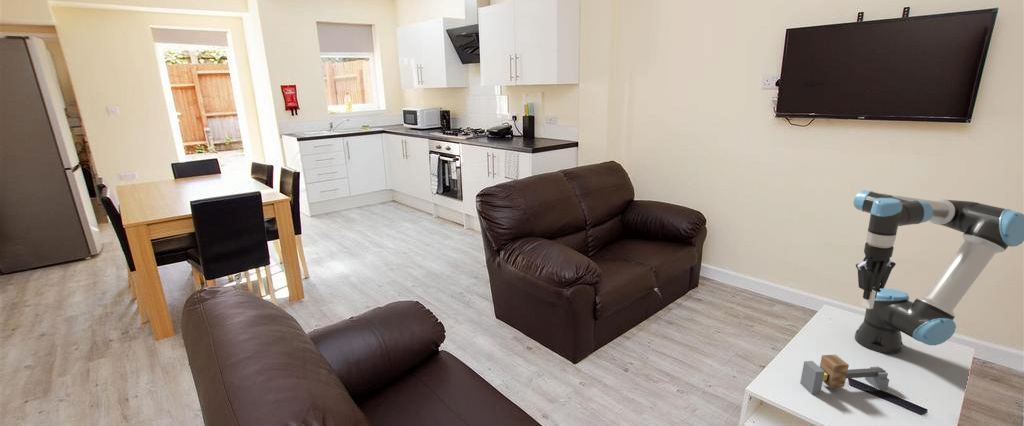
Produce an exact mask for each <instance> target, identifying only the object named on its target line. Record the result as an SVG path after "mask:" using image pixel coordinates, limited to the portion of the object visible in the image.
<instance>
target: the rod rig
mask: <svg viewBox="0 0 1024 426" xmlns="http://www.w3.org/2000/svg"><path fill="white" fill-rule="evenodd" d="M801 371H802V372H801V376H800V377H801V378H800V381H799V382H800V383H799V384H800V385H801V386H802V387H803V388H805V390H806V391H808V392H809V394H811V395H819V394H820V395H821V392H822V387H823V383H824V382H823V381H825V380H829V376H830V375H829V374H828V373H827V372H826V371H824V370H823V369H821V368H820V365H818V364H817V363H816V362H815V361H814V360H806V361H805V360H804V361H803V366H802V370H801ZM888 375H889V373H888V372H887V371H886V370H885V369H884V368H882V367H880V366H870V367H869V368H856V369H853V368H852V369H848V371H847V376H846V380H847V379H858V378H864V380H865V381H867V382H868V383H869V384H870V385H871V386H872V387H874V388H875V387H876V388H875V389H877V388H878V389H880V390H879V391H886V390H888V386H889V383H890V379H889V378H888ZM878 389H877V390H878Z"/></svg>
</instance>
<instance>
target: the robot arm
mask: <svg viewBox="0 0 1024 426" xmlns="http://www.w3.org/2000/svg"><path fill="white" fill-rule="evenodd" d="M852 203H853V206H854V208H855V209H856V210H859V211H861V212H863V213H864V212H865V213H867V214H870V216H869V223H868V228H867V233H866V238H865V239H866V240H865V244H864V247H863V249H864V250H863V253H864V258H863V260H862V262H861V263H856V264H855V267H856V269H857V281H858V288H859V289H861V290H863V294H862V298H863V299H862V306H863V307H864V308H866V310H865V313H864V317H863V318H864V319H863V322H862V323H861V324H860V326H859V327H858V329H857V330H855V333H854V340H855V341H856V342H857V343H858V344H859V345H861V346H862V347H864V348H866V349H868V350H870V351H874V352H876V353H877V352H878V353H881V354H882V353H883V354H888V355H889V354H890V355H891V354H892V355H893V354H894V355H896V354H899V353H901V352H902V350H903V347H904V344H903V339H902V333H903V334H905V335H906V336H908V337H910V338H912V339H914V340H915V341H917V342H921V343H923V344H925V345H928V346H938V345H942V344H944V343H945V342H947V341H948V340H950V339H951V337H953V335H954V334H955V332H956V329H957V325H956V322H955V321H954V319H955V318H956V315H955V313H954V310H955V308H956V307H957V305H958V304H959V303H960V302H961V300H962V299H963V297H964V296H965V295H966V294H967V292H968V290H970V289H971V287H972V285H974V283H975V281H976V280H977V279H978V278H979V277H980V275H981V273H982V272H983V271H984V269H986V267H987V265H988V264H989V263H990V261H991V260H993V257H994V256H995V255H996V254H998V253H1003V252H1005V251H1006V250H1007V249H1008V247H1014V248H1015V247H1017V246H1019V245H1022V244H1023V243H1024V214H1023V213H1022V212H1018V211H1015V210H1012V209H1010V208H1003V207H997V206H994V205H989V204H985V203H979V202H974V201H967V200H953V199H943V198H938V199H934V200H930V199H925V198H924V199H923V198H918V197H917V198H916V197H909V196H901V195H893V194H886V193H879V192H875V191H872V190H861V191H859V192H858V193H857V194H856V195H855V196H854V198H853V201H852ZM928 221H929V223H931V224H933V225H934V224H935V225H939V226H943V227H946V228H948V229H949V228H950V229H952V230H955V231H957V232H961V233H963V234H962V237H963V240H964V241H963V243H962V245H961V246H960V247H959V248H958V250H957V251H956V253H954V255H953V257H952V258H951V259H950V261H949V263H947V264H946V266H945V267H944V269H943V271H942V272H941V273H940V275H939V276H938V277H937V278H936V280H935V281H934V282H933V284H932V285H931V287H930V288H929V289H928V291H927V292H926V294H925V295H924V296H921V297H916V298H915V300H914V301H910V296H909V294H908V293H907V292H905V291H902V290H899V289H895V288H885V286H886V285H887V282H888V280H889V278H890V277H889V276H890V275H891V273H892V270H893V269H894V268H895V266H896V264H897V263H896V262H895V261H892V260H891V258H892V257H893V254H894V249H895V248H894V246H895V244H896V238H897V233H898V229H899V227H902V226H909V225H919V224H922V223H926V222H928Z"/></svg>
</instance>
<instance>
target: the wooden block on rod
mask: <svg viewBox="0 0 1024 426" xmlns="http://www.w3.org/2000/svg"><path fill="white" fill-rule="evenodd" d="M849 366H850V364H849V363H847V362H846V361H845V360H844V359H842V358H841V357H839V356H838V355H837V354H822V355H821V359H820V364H819V367H820V368H821V369H823V370H824V371H826V372H827V373H828V374H829V375H830V376H829V380H825V381H823V383H824V384H825V385H827V386H828V387H829V388H831V389H833V388H845V386H846V385H845V384H846V380H847V379H846V376H847V371H848V370H849Z"/></svg>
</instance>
